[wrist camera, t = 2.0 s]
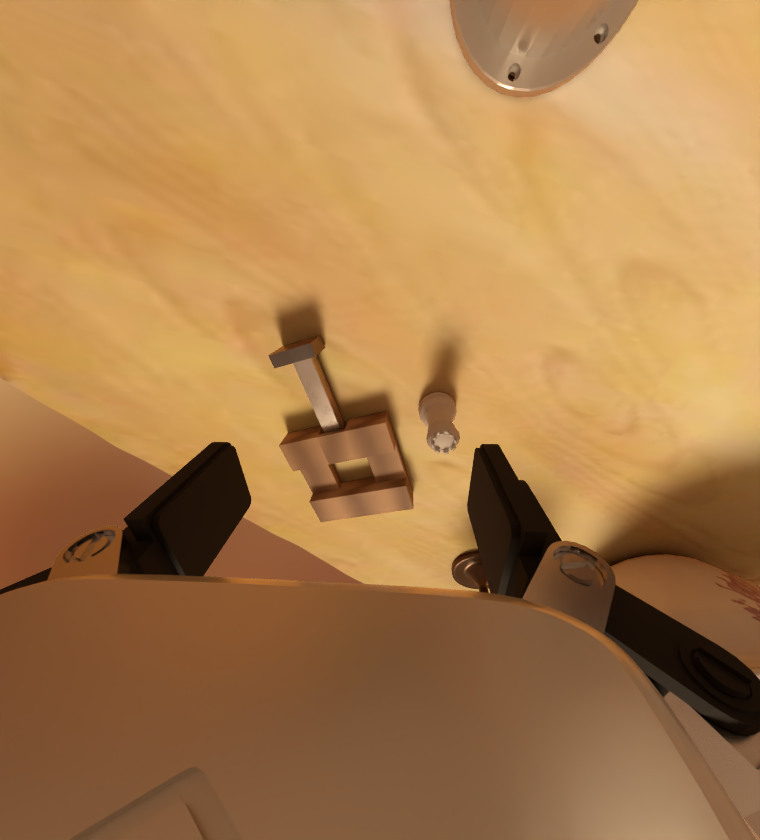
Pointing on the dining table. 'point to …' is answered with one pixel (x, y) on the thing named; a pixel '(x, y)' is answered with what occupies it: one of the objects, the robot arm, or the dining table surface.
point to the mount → (354, 442)
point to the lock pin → (311, 379)
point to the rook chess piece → (439, 421)
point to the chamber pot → (699, 600)
